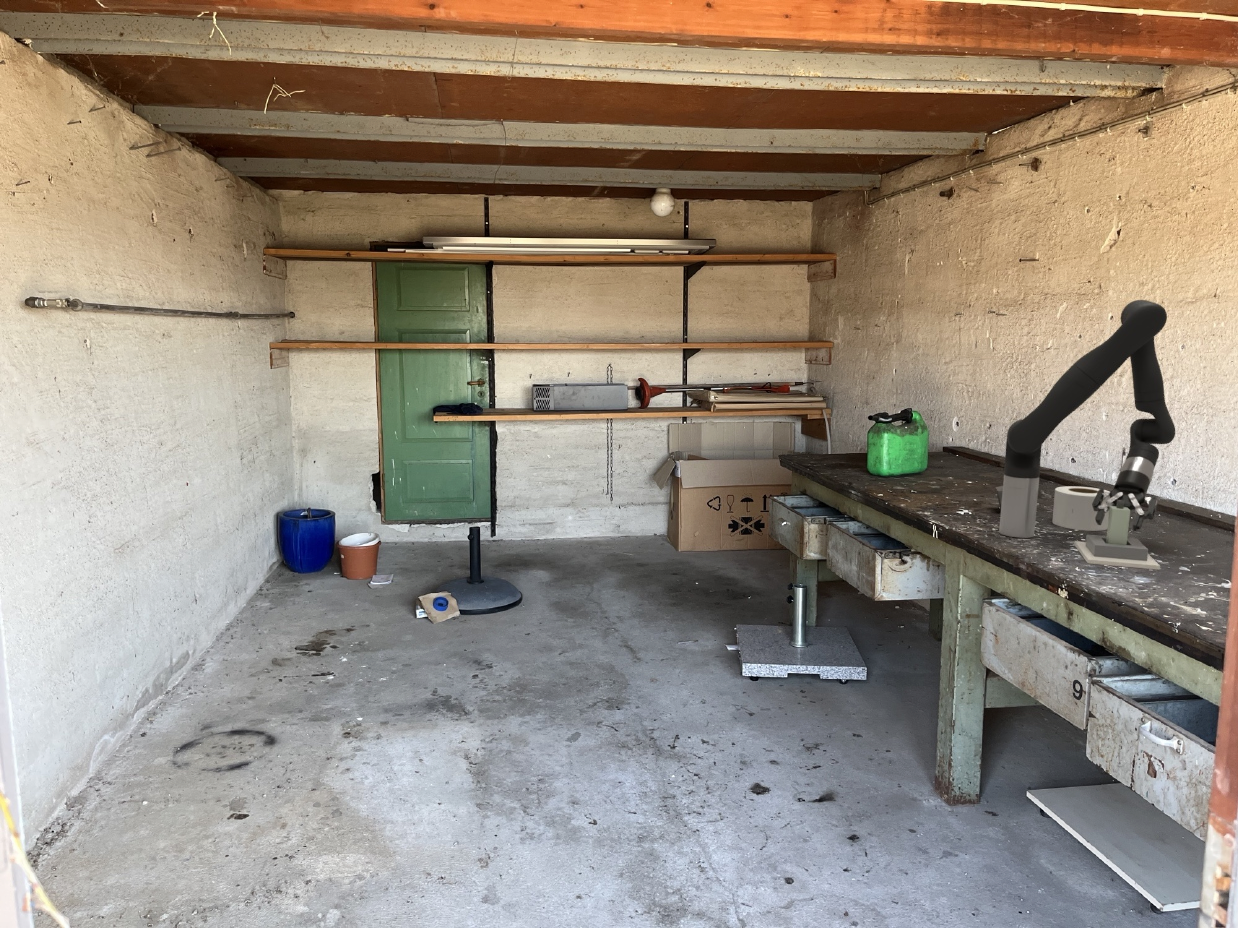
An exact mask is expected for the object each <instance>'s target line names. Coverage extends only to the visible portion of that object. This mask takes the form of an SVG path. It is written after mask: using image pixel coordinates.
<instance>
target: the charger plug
mask: <svg viewBox="0 0 1238 928" xmlns="http://www.w3.org/2000/svg"><path fill="white" fill-rule="evenodd" d="M1130 517H1131V511H1130V510H1129V509H1128V508H1127V507H1124V501H1123V500H1117V506H1110V509H1109V519H1108V528H1107V530H1106V536H1107V537H1106V543H1107V544H1119V545H1127V538H1128V534H1129V528H1130V527H1129V524H1130Z"/></svg>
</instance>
